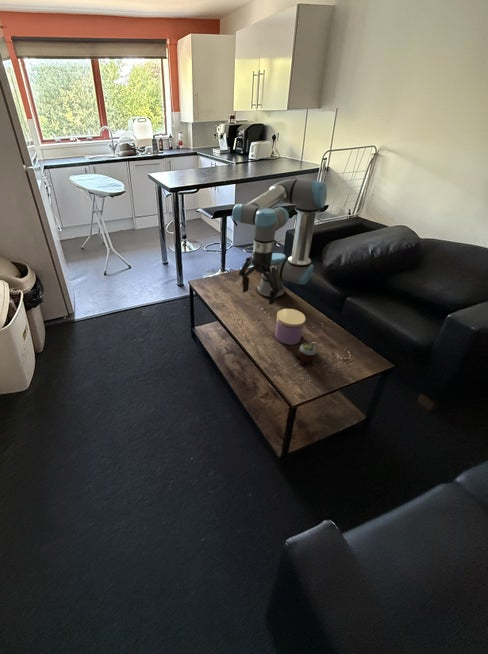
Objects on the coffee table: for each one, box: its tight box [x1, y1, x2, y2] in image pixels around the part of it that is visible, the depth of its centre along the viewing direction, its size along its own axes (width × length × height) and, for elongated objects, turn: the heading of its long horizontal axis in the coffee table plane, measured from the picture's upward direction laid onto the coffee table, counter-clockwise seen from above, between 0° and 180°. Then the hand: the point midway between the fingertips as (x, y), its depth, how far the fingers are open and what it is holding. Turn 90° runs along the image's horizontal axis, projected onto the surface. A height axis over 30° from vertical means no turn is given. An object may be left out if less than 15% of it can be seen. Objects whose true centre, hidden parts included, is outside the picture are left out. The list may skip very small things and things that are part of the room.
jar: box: [274, 308, 306, 345], centre depth 148 cm, size 13×13×12 cm
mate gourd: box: [297, 341, 317, 366], centre depth 132 cm, size 8×8×15 cm
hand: (258, 297), depth 133 cm, fingers open, 13 cm apart
